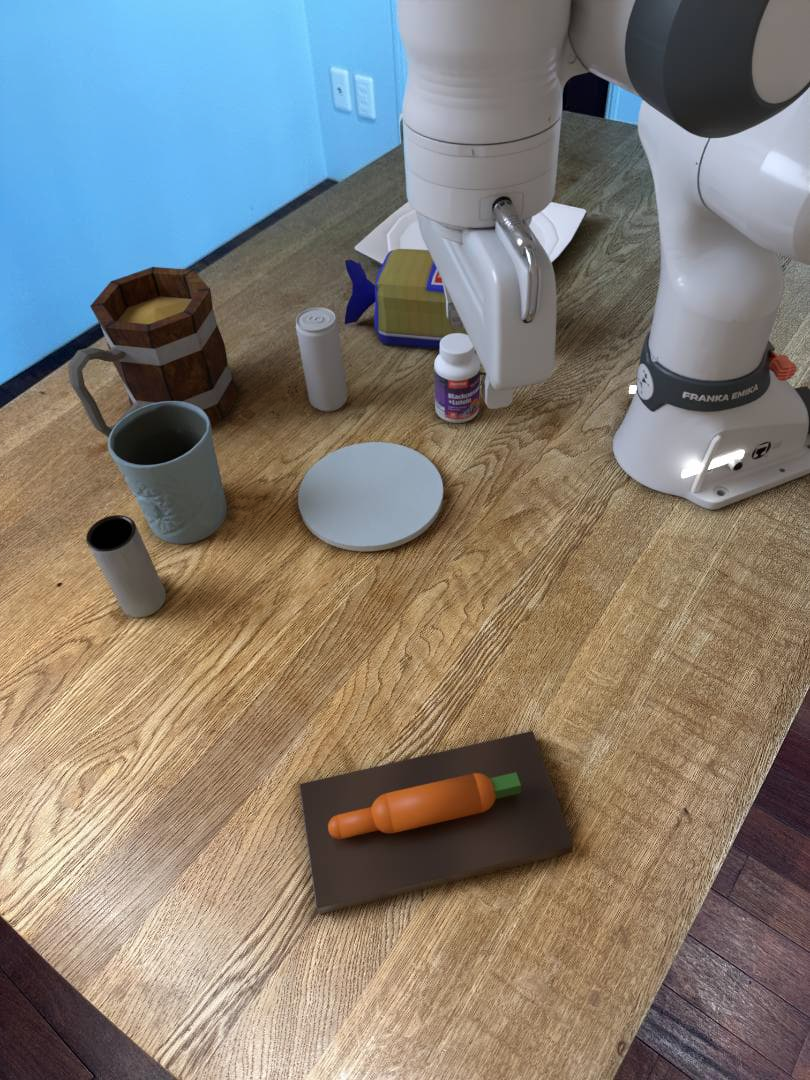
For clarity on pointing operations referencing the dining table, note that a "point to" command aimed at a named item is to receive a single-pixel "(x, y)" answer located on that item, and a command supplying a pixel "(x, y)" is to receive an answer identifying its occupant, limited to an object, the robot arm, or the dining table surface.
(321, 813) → the cutting board
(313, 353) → the beverage can
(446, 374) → the pill bottle
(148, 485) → the blue cup
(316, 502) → the side plate
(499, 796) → the carrot
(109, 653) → the dining table surface
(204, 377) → the mug
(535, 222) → the plate
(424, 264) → the bread
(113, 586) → the grey hollow cylinder
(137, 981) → the dining table surface
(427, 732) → the dining table surface
